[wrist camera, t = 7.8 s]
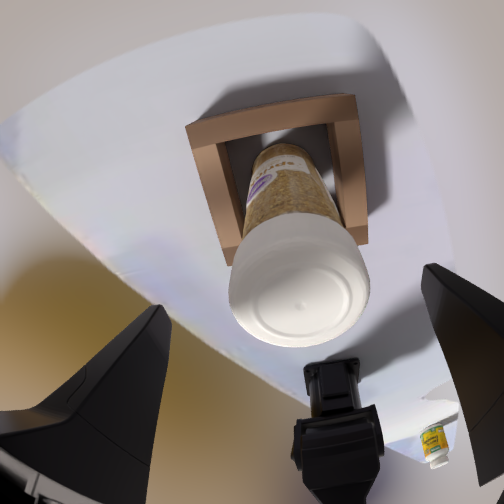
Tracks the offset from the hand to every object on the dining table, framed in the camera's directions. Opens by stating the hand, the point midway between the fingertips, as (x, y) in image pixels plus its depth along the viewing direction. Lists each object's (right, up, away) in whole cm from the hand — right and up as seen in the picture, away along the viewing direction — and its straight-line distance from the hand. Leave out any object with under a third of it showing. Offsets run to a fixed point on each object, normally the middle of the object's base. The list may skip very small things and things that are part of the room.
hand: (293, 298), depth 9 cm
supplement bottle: (+36, -36, +36) cm, 62 cm away
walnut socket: (+1, +7, +11) cm, 13 cm away
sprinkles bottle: (+1, +7, +11) cm, 13 cm away
